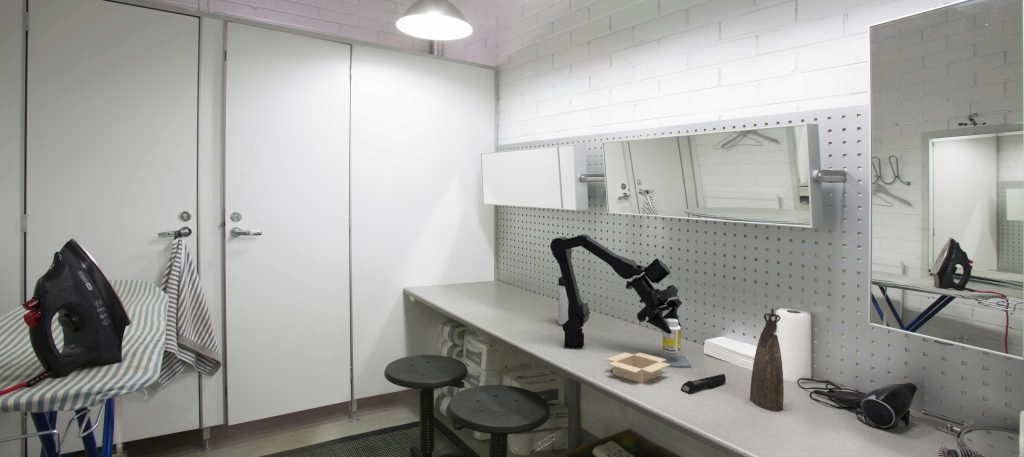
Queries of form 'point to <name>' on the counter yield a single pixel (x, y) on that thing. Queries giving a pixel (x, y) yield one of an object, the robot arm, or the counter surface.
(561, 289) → the travel mug
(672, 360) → the rubber mat
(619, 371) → the carton
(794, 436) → the counter surface
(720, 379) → the electric trimmer
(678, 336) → the supplement bottle
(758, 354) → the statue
